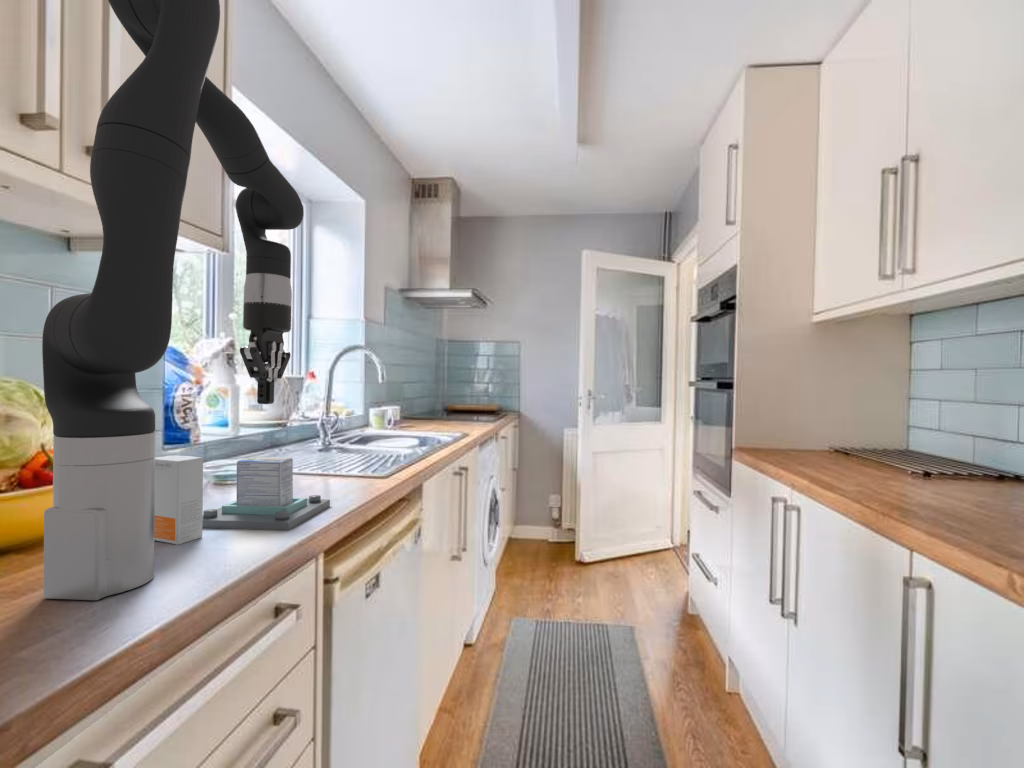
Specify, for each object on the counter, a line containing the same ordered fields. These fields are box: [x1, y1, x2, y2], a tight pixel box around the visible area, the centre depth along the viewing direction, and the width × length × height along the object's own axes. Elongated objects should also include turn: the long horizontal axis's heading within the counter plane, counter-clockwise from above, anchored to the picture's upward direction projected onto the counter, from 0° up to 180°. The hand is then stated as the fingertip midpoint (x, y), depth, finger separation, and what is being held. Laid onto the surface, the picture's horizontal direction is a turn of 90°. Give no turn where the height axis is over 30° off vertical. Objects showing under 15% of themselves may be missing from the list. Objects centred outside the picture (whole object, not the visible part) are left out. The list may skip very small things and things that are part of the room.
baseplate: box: [202, 494, 331, 531], centre depth 91 cm, size 16×16×2 cm
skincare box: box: [154, 454, 204, 546], centre depth 78 cm, size 6×4×12 cm
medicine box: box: [236, 456, 294, 506], centre depth 91 cm, size 8×4×9 cm, turn 87°
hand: (265, 403), depth 91 cm, fingers closed
